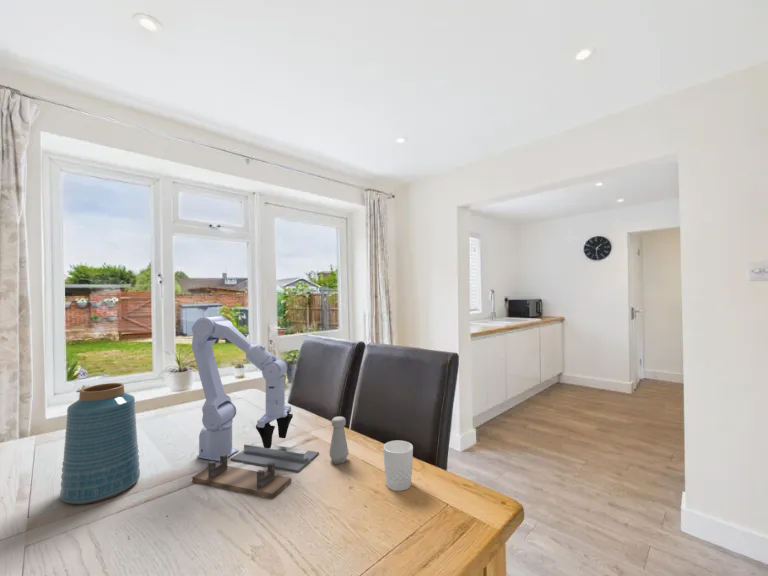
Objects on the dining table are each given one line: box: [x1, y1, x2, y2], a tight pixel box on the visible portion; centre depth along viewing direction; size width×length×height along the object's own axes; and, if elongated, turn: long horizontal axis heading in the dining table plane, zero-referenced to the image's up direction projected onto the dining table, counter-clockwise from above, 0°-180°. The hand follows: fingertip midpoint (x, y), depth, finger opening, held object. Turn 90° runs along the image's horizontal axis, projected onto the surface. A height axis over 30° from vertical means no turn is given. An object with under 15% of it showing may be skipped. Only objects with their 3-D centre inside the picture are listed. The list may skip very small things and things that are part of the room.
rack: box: [191, 454, 292, 499], centre depth 95 cm, size 26×8×5 cm, turn 71°
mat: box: [230, 442, 320, 473], centre depth 109 cm, size 24×12×1 cm, turn 71°
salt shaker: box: [328, 415, 349, 465], centre depth 106 cm, size 6×6×13 cm
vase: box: [59, 382, 141, 505], centre depth 92 cm, size 16×16×27 cm
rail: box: [243, 441, 309, 462], centre depth 109 cm, size 22×2×2 cm, turn 71°
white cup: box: [383, 439, 414, 492], centre depth 93 cm, size 8×8×10 cm
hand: (275, 442), depth 109 cm, fingers open, 7 cm apart
